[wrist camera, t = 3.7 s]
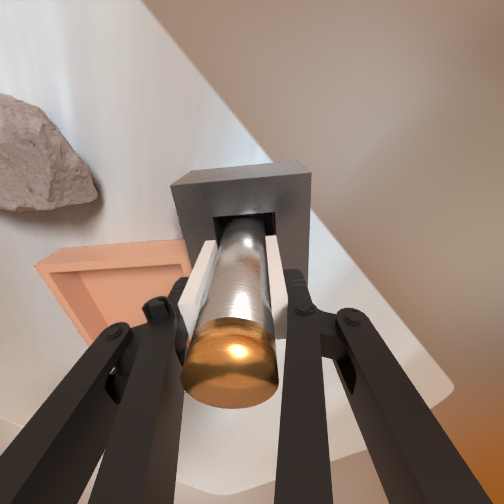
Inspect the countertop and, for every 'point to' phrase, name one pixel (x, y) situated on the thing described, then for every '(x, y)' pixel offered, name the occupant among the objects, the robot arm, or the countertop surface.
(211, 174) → the block
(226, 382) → the pin
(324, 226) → the countertop surface
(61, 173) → the decorative stone
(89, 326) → the tray
